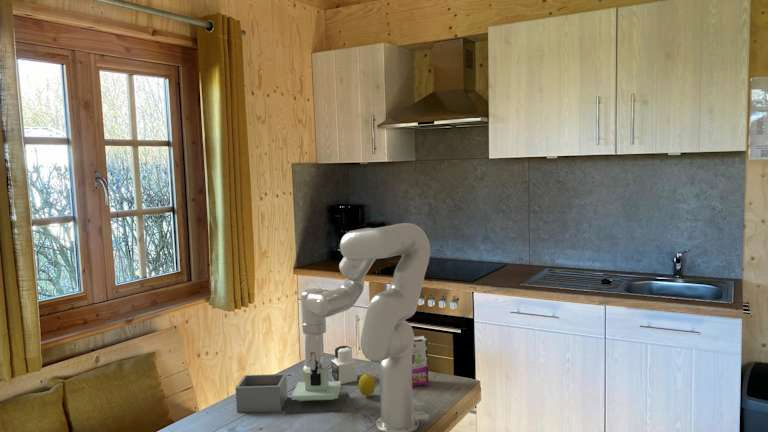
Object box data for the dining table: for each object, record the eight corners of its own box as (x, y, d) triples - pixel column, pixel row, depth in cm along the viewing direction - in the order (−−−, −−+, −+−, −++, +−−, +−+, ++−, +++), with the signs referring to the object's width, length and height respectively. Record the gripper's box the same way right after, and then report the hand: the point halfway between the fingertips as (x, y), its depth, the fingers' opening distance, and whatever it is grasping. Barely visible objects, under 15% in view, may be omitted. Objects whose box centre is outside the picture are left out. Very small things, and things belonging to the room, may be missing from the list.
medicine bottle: (331, 378, 209) (330, 346, 208) (350, 374, 212) (348, 343, 211) (338, 385, 203) (337, 351, 202) (357, 381, 206) (356, 348, 205)
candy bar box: (426, 380, 204) (424, 335, 203) (428, 385, 199) (427, 339, 198) (394, 383, 203) (393, 337, 201) (396, 388, 198) (395, 341, 196)
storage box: (287, 397, 194) (286, 374, 193) (280, 411, 183) (279, 386, 182) (246, 398, 194) (244, 375, 193) (237, 412, 183) (235, 387, 182)
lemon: (366, 392, 195) (365, 369, 195) (379, 396, 192) (378, 372, 191) (355, 397, 191) (354, 374, 190) (368, 401, 188) (367, 377, 187)
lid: (341, 387, 193) (340, 363, 193) (338, 401, 182) (336, 376, 181) (298, 388, 194) (296, 364, 193) (291, 402, 182) (290, 377, 181)
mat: (347, 393, 195) (347, 391, 195) (343, 411, 181) (343, 408, 181) (294, 395, 195) (294, 392, 195) (286, 412, 181) (286, 410, 181)
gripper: (306, 320, 194) (309, 373, 196) (298, 335, 177) (301, 393, 179) (328, 320, 194) (331, 373, 195) (322, 334, 177) (325, 392, 179)
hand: (316, 382), depth 187 cm, fingers closed on lid, 3 cm apart
